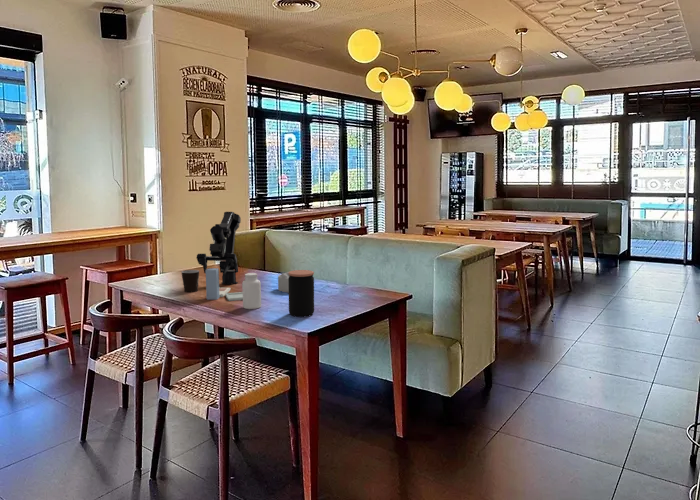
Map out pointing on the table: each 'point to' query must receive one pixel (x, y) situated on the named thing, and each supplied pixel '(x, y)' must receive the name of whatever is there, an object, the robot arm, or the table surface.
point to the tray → (234, 296)
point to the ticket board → (223, 291)
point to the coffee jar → (301, 293)
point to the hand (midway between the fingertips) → (214, 273)
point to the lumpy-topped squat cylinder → (283, 282)
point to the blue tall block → (212, 283)
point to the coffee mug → (190, 280)
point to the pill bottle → (251, 291)
